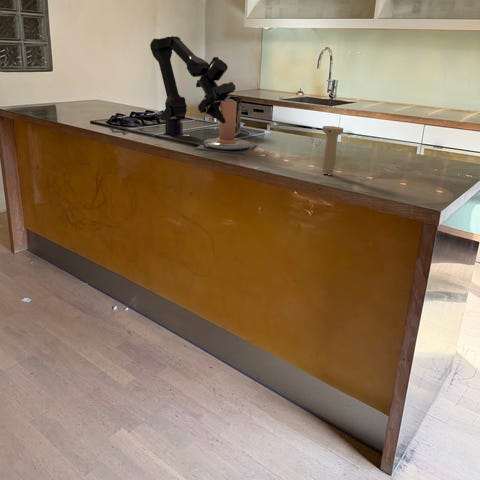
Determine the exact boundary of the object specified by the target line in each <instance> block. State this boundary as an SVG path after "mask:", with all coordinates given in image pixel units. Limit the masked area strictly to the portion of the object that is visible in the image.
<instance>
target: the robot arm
mask: <svg viewBox="0 0 480 480" xmlns="http://www.w3.org/2000/svg"><path fill="white" fill-rule="evenodd" d="M149 46H150V47H149V48H150V50H151V51H150V52H151V53H152V56H153V57H154V59H155V60H156V61H157V62H158V65H159V69H160V70H159V71H160V73H161V78H162V81H163V85H164V89H165V94H166V99H165V103H164V105H165V107H164V108H165V109H164V110H163V111H162V113H161V114H160V115H161V119H162V120H163V121H165V123H164V124H165V127H164V129H165V131H164V132H163V135H166V134H170V135H169V136H176V135H178V136H180V134H181V135H183V134H184V132H183V125H184V124H183V123H182V120H185V119H186V116H187V115H186V113H187V111H188V108H187V107H188V104H187V103H186V98H185V97H184V96H181V95H180V94H179V90H178V86H177V81H176V78H175V73H174V70H173V66H172V61H171V58H172V56H173V55H172V54H173V52H174V53H175V54H176V55H177V56H178V57H179V58H180V59H181V60H182V62H184V64H185V66H186V70H187V72H188V73H189V74H190V76H191V77H192V78H199V79H197V80H196V84H195V88H201V89H202V91H203V92H204V97H203V99H202V100H201V101H200V103H199V104H198V106H197V109H198V111H199V113H200V114H204V113H205V114H206V115H208V116H211V117H213V118H214V119H216V120H217V121H219V123H220V122H222V123H225V119H224V117H223V115H222V113H221V111H220V108H221V100H225V99H226V98H227V97H228V96H229V94H231V93H234V92H235V90H236V85H235V83H233V82H232V81H231V82H230V81H229V82H227V83H222V84H221V85H219V84H218V83H217V82H218V81H220V80H221V79H222V78H223V76H224V75H225V73H226V72H227V70H228V65H227V63H226V62H224V61H223V60H222V59H220V58H219V57H218V56H213V58H212V59H211V61H210V62H207V61H206V60H205V59H203V58H201V57H199V56H196V54H194V53H193V52H192V51H191V49H190V48H189V47H188V46H187V45H186V44H185V43H184V42H183V41H182V40H181V38H180V37H179V36H175V35H174V36H173V35H169V36H165V37H162V38H153V39H152V40H151V41H150V45H149ZM230 96H231V97H230V98H229V99H232V100H233V101H236V102H237V106H238V105H239V103H240V102H241V101H242V102H243V99H242V100H241V98H240V97H241V96H240V95H230ZM239 96H240V97H239ZM236 122H237V115H236Z"/></svg>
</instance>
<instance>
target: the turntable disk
mask: <svg viewBox="0 0 480 480" xmlns="http://www.w3.org/2000/svg"><path fill="white" fill-rule="evenodd" d="M217 138H218V137H216V138H214V137H213V138H207V139H205V140H204V141H203V144H204V145H205V146H206V147H209V148H214V149H221V150H241V149H247V148H249V147H250V142H249V141H247V140H244V139H239V138H236V139H237V140H236V143H235V144H221V143H218V142H217Z"/></svg>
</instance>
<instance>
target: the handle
mask: <svg viewBox="0 0 480 480" xmlns="http://www.w3.org/2000/svg"><path fill="white" fill-rule="evenodd" d="M321 130H322V132H323V133H324V134H326V135H325V136H326V139H325V144H324V149H323V154H322V155H323V156H322V170H321V171H322V173H325V174H332V173H333V174H334V169H335V166H336V159H337V158H336V157H337V145H338V136H339V135H342V134H343V132H344V128H343V127H339V126H332V125H331V126H330V125H323V126H322V129H321ZM333 174H332V175H333Z"/></svg>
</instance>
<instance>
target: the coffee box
mask: <svg viewBox="0 0 480 480" xmlns="http://www.w3.org/2000/svg"><path fill="white" fill-rule="evenodd" d="M231 96H232V95H228V97H227V98H226V99H229V98H230V97H231ZM238 96H239V97H240V98H241V100H242V101H241V102H240V103H239V105H238V106H237V107H236V115H237V122H236V123H235V137H237V136H238V135H239V134H241V123H242V122H241V121H242V102H243V99H242V98H243V97H242V96H240V95H238ZM236 135H237V136H236Z"/></svg>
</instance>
